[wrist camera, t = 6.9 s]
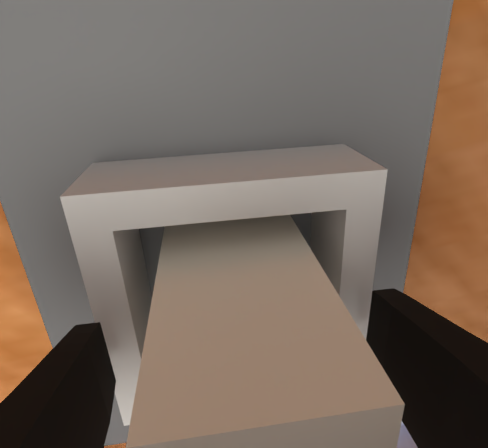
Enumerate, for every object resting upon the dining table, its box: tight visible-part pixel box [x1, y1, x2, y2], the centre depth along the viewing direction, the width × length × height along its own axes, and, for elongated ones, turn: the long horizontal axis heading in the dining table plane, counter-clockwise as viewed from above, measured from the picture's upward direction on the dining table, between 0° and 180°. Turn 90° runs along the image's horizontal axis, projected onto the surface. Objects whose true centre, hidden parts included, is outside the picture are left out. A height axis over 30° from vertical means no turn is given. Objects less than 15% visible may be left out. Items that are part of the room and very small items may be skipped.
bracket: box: [0, 0, 453, 446], centre depth 12 cm, size 14×18×4 cm
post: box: [126, 215, 405, 448], centre depth 10 cm, size 4×4×8 cm
